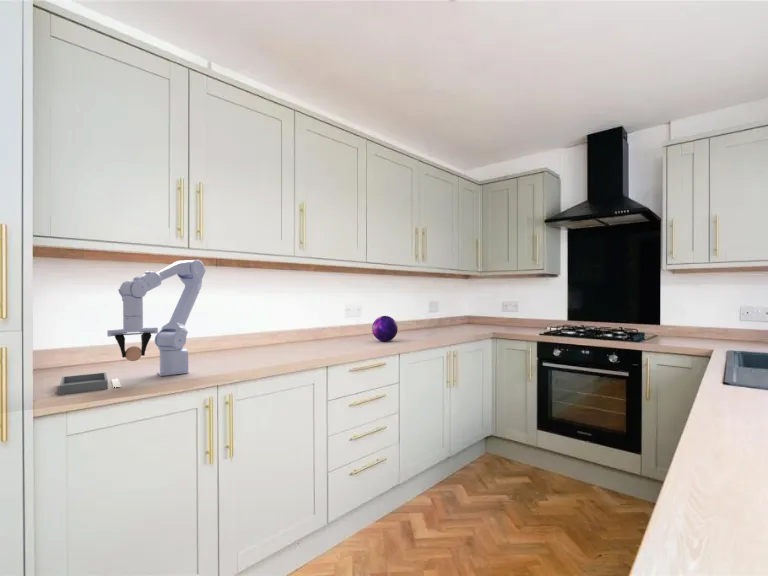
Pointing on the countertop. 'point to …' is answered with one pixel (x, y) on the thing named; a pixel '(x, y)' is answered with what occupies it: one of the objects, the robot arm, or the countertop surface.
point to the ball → (133, 353)
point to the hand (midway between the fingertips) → (133, 356)
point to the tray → (83, 383)
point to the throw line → (115, 383)
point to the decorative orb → (384, 328)
